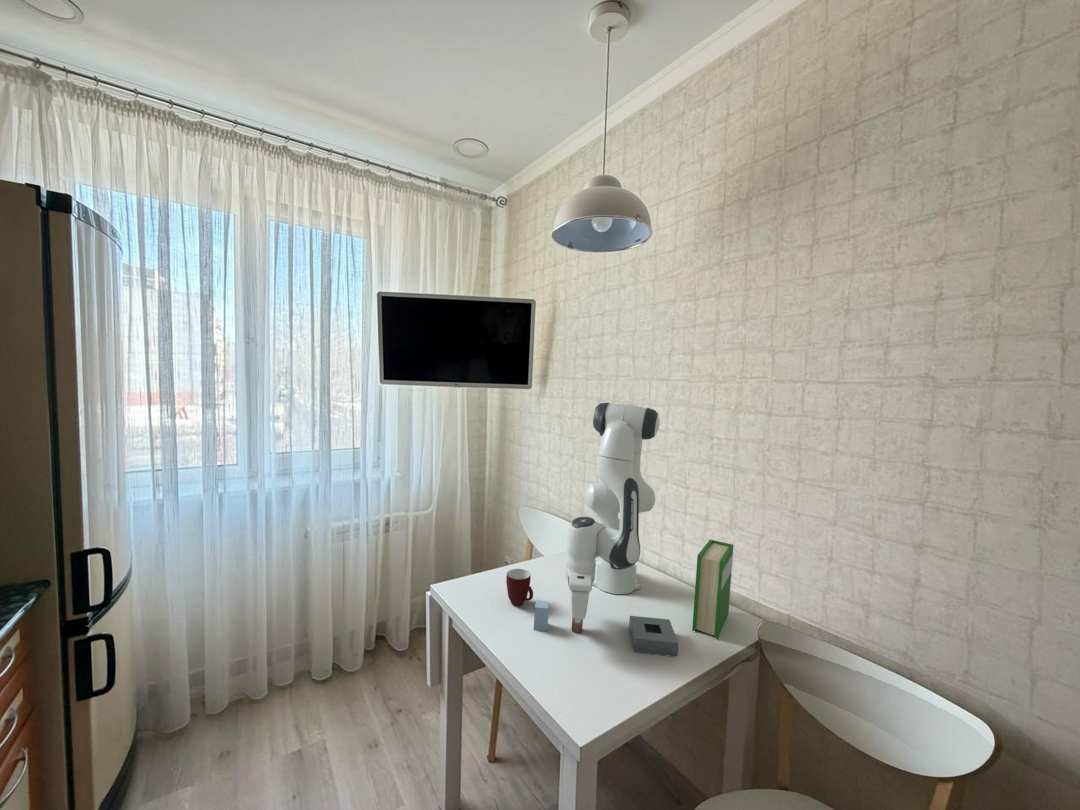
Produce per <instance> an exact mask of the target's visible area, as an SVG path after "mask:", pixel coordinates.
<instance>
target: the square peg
mask: <svg viewBox="0 0 1080 810" xmlns="http://www.w3.org/2000/svg"><path fill="white" fill-rule="evenodd" d="M549 606H550V602H549V601H543V600H535V604H534V612H533V613H534V615H533V631H542V632H548V626H549V609H550V607H549Z"/></svg>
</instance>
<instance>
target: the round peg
mask: <svg viewBox="0 0 1080 810" xmlns="http://www.w3.org/2000/svg"><path fill="white" fill-rule="evenodd" d="M571 616H572V615H571ZM571 621H572V622H571V632H573V634H582V632H583V623H584V619H581V622H580V623H576V622H575V618H573V616H572V618H571Z"/></svg>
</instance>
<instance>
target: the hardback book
mask: <svg viewBox="0 0 1080 810" xmlns="http://www.w3.org/2000/svg"><path fill="white" fill-rule="evenodd" d="M733 555H734V544H732V543H728V542H723V541H718V540H714V539H709V540H708V541H707V543H706V544H705V545H704V546H703V548H702V549H701V550H700V552H699V553H698V554H697V559H696V573H695V586H694V587H695V588H694V599H693V600H694V601H693V616H692V629H691V631H692V632H693V631H696V632H697V630H698V631H701V632H703V633H707V634H709V635H712V636H713V637H714V638H716V639H718V640H719V638H720V636H719V635H721V633H722V631H723V629H722V628H724V626H725V624H726V622H727V619H728V617H727V616H729V611H730V610H729V609H730V595H731V583H732V582H731V581H732V570H733V569H732V567H733V557H734V556H733ZM726 618H727V619H726ZM725 621H726V622H725ZM724 623H725V624H724ZM723 625H724V626H723ZM696 629H697V630H696ZM721 630H722V631H721ZM720 632H721V633H720ZM718 637H719V638H718ZM716 639H715V640H716Z"/></svg>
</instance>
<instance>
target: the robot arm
mask: <svg viewBox="0 0 1080 810" xmlns="http://www.w3.org/2000/svg"><path fill="white" fill-rule="evenodd" d="M660 422H661V420H660V416H659V414H658V412H657V411H656V410H655V409H652V408H650V407H643V406H639V405H635V404H624V403H610V402H600V403H599V404H597V405H596V407H595V408H594V411H593V413H592V425H593V428H594V429H595V431H596V432H597V433H599V436H601V441H600V444H599V448H598V449H599V450H598V454H597V460H596V475H597V476H598V479H599V480H600V481H598V482H592V483H590V484H589V485H588V487H587V489H586V491H585V494H584V497H585V502H586V505H587V506H588V507H589V509H590V510H592V512H594V513H595V514H596V516H597V517H598V518H599V520H600V522H598V521H596V520H595V519H594V518H592V517H590V516H579V517H576V518H573V520H572V521H571V523H570V525H569V528H568V534H567V541H566V542H567V543H566V550H567V557H566V561H565V579H566V581H567V584H568V590H569V591H570V603H571V604H570V605H571V616H573V618H575V622H576V623H580V622H581V619H583V620H584V619H586V617H587V616H586V615H587V610H588V605H589V599H590V593H591V592H592V589H593V586H595V587H596V588H598V589H599V590H601V591H603V592H606V593H610V594H614V595H626V594H627V595H628V594H630V593H633V592H634V591H636V590H640V589H641V584H640V582H639V581H638V580H637V565H636V563H638V561H639V559H640V556H641V544H640V543H641V542H640V536H639V534H640V533H639V527H640V526H639V523H640V513H645V512H646V513H647V512H650V511H651V510H652V509H653V508H654V506H655V505H656V494H655V493H656V492H655V491H654V490H653V488H652V487H651V486H650V484H648V483H647V482H646V481H645V479H644V478H643V476H642V473H641V458H642V450H643V449H642V448H643V440H652V439H653V438H655V437H656V435H657V433H658V431H659V429H660V426H661V425H660ZM596 558H598V560H596Z"/></svg>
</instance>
